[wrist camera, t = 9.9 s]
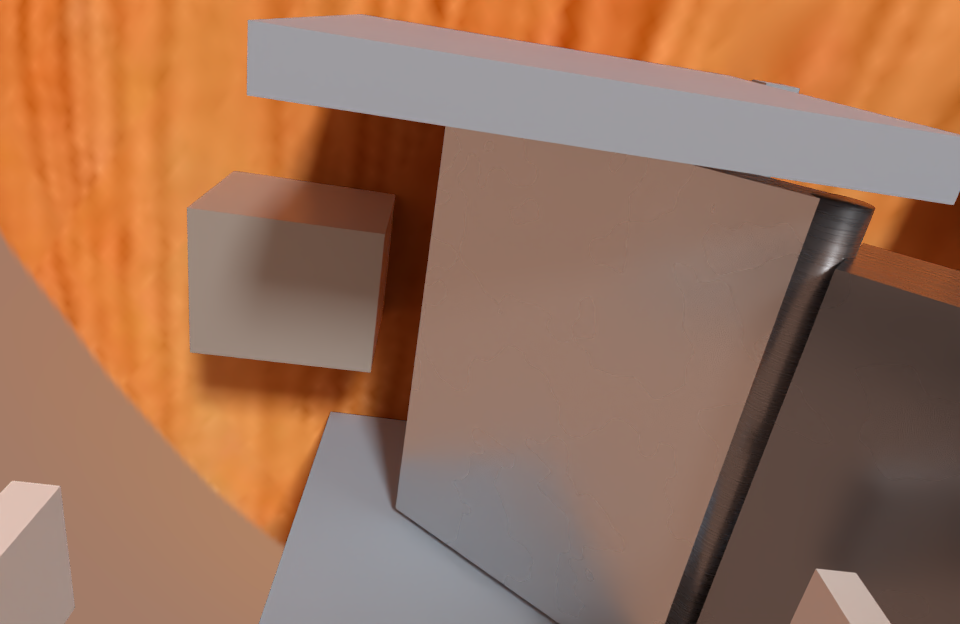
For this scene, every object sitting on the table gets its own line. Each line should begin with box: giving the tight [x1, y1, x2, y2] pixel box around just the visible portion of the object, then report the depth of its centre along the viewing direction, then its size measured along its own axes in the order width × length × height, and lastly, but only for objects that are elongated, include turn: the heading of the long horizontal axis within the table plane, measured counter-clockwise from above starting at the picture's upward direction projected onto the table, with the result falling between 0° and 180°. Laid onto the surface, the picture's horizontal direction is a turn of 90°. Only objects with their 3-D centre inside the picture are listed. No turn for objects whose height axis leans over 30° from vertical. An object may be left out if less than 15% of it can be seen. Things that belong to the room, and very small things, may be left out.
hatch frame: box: [247, 14, 960, 624], centre depth 21 cm, size 17×15×13 cm
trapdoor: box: [396, 126, 960, 624], centre depth 18 cm, size 14×16×3 cm
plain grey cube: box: [187, 171, 395, 373], centre depth 24 cm, size 5×5×6 cm
